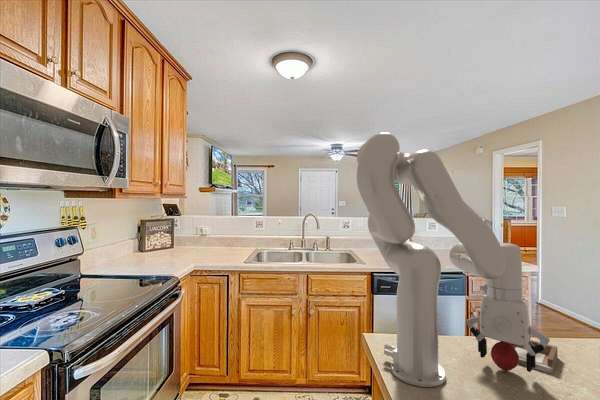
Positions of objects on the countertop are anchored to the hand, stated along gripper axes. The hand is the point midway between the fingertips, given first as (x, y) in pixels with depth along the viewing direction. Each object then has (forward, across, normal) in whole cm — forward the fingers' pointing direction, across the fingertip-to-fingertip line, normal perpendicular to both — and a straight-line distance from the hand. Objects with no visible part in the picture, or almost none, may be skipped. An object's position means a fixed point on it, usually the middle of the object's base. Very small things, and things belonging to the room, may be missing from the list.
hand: (505, 362), depth 75 cm
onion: (+2, 0, 0) cm, 2 cm away
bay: (+2, +3, +12) cm, 12 cm away
